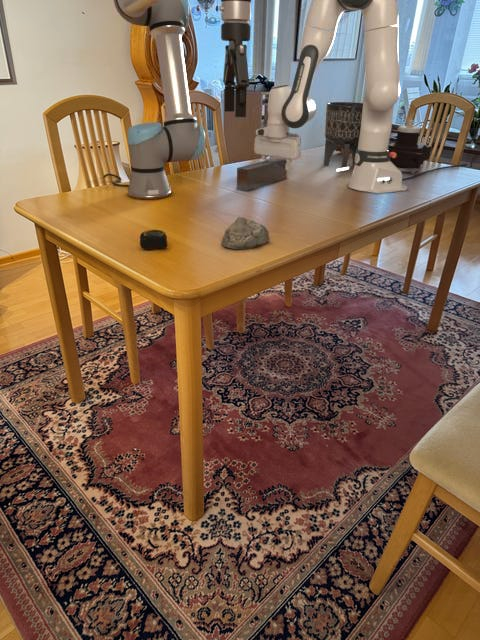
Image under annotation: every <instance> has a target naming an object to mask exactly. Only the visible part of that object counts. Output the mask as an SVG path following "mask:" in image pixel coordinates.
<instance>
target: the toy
mask: <svg viewBox="0 0 480 640" xmlns="http://www.w3.org/2000/svg"><path fill="white" fill-rule="evenodd" d="M335 151H336V152H340V153H342V147H340V148H338V149H336V150H335ZM348 155H352V153H351V151H350V150H349V152H348Z"/></svg>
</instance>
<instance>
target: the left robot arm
mask: <svg viewBox="0 0 480 640" xmlns="http://www.w3.org/2000/svg"><path fill="white" fill-rule="evenodd" d="M220 1H221V3H220V6H219V7H218V11H220V12H221V13H220V18H221V21H222V22H223V23H221V25H220V39H221V41H224V42H228V44H226V45H225V47H224V48H225V55H224V65H223V76H222V83H223V85H224V112H225V113H226V112H234V117H235V118H246V117H247V89H248V88H249V86H250V81H249V80H250V78H249V67H248V55H247V54H248V53H247V52H248V51H247V49H248V46H247V44H244V43H243V42H250V41H251V25H250V22H251V21H252V0H220ZM113 3H114V7H115V9H116V11H117V13H118V14H119V16H120V17H121V18H122V19H124V20H125V21H126V22H128V23H129V24H131V25H135V26H139V27H148V29H149V35H150V36H151V38H153V39H154V41H155V45H156V52H157V58H158V64H159V72H160V77H161V85H162V92H163V98H164V99H163V100H164V106H165V112H166V113H165V114H166V118H165V119H164V120H163V122H162V123H163V125H162V123H161V122H157V121H155V122H143V123H138V124H135V125H132V126H131V127H129V129H128V130H127V145H128V152H129V153H128V154H129V163H130V177H129V184H124V183H123V184H122V183H120V182H121V181H122V180H123V179H122V178H121V176H118V175H116V174H114V173H106V174H104V175H103V177H102V178H106V177H114V178H117V180H114V181H113V182H112V185H113V186H117V187H123V188H124V187H127V196H128V197H130V198H132V199H137V200H146V201H147V200H161V199H165V198H167V197H170V196H171V195H172V188H171V185H170V184H169V180H168V177H167V174H166V170H165V169H166V167H165V163H166V164H167V163H178V162H190V161H195V160H199V159H200V158H201V157H202V156H203V154H204V152H205V147H206V133H205V130H204V128H203V126H202V125H201V124H198V121H197V117H195V116H194V115H193V114H192V108H191V101H190V94H189V85H188V78H187V70H186V62H185V55H184V47H183V41H182V37H183V36H184V34H185V32H186V28H187V27H188V25H189V22H190V17H189V15H190V5H189V1H188V0H113Z"/></svg>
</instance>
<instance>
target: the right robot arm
mask: <svg viewBox="0 0 480 640" xmlns="http://www.w3.org/2000/svg"><path fill="white" fill-rule="evenodd" d="M357 11H360V12H361V14H362V17H363V28H364V29H363V35H364V36H363V39H364V40H363V41H364V43H363V45H364V68H365V70H364V71H365V89H364V93H363V102H362V103H363V110H362V119H361V128H360V136H359V143H358V148H357V149H356V155H355V166H353V171H352V174H351V176H350V180H349V182H348V184H347V187H348V188H350V189H352V190H355V191H359V192H367V193H372V194H386V193H387V194H388V193H393V192H394V193H395V192H404V191H408V186H406V184H404V183H403V181H407V180H411V179H413V178H416V177H419V176H422V175H424V174H427V173H431V172H434V171H439V170H443V169H449V168H450V169H451V168H457V167H459V168H460V167H465V166H468V163H463V164H454V165H449V166H441V167H436V168H432V169H427V170H425V171H422V172H419V173H417V174H414V175H412V176H409V177H404V178H403V173H402V171H400V170H399V169H398V168H397V167H396V166H395V165H394V164H393V163H392V162H391V161H390V157H392V158H395V157H396V156H397V154H395V152H390V151H388V146H389V144H390V139H391V135H392V127H393V125H392V124H393V114H394V106H395V105H396V103H397V102H398V100H399V98H400V94H401V80H400V79H401V78H400V58H399V27H400V26H399V25H400V24H399V22H400V21H399V6H398V0H311V3H310V5H309V8H308V12H307V14H306V19H305V22H304V27H303V30H302V31H303V32H302V37H301V43H300V44H301V45H300V52H299V57H298V58H299V59H298V63H297V66H296V71H295V73H294V74H295V75H294V79H293V82H292V86H291V85H288V84H283V85H278V86H274V87H272V88H271V89H270V91H269V94H268V98H267V116H268V117H267V122H266V126H264V127H261V128H258V129H256V130H255V135H256V136H255V138H254V143H253V151H254V153H255V155H260V156H261V159H262V161H266V160H267V158H268V157H269V156H274V157H280V158H286V161H287V163H286V165H284V166H283V167H284V168H283V169H284V170H287V171H289V169H290V165H291V163H292V161H295V160H298V159H300V157H301V154H302V153H301V150H302V149H301V143H302V142H301V141H302V139H301V136H300V135H299V134H298V133H292V132H290V128H291V129H300V128H302V127H303V126H304V125H305V124H307V123H308V122H310V121H311V120H312V119H313V118H314V117H315V115H316V112H317V111H316V110H317V106H316V103H315V101H314V100H313V98H311V97H310V96H309V95H310V91H311V88H312V84H313V81H314V77H315V74H316V71H317V69H318V67H319V66H320V64H321V63H322V62H323V60H324V59H325V58H326V57H327V56H328V54H329V53H330V52H331V49H332V46H333V44H334V40H335V37H336V33H337V29H338V24H339V22H340V19H341V17H342V14H347V13H353V12H357ZM349 169H350V166H347V167H345V168H341V167H340V168H336V170H335V172H344V171H343V170H346V171H347V170H349Z"/></svg>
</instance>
